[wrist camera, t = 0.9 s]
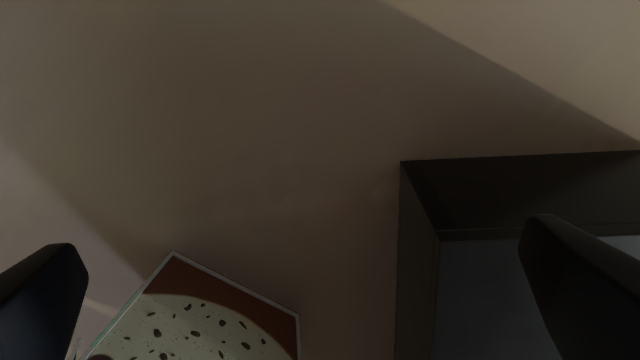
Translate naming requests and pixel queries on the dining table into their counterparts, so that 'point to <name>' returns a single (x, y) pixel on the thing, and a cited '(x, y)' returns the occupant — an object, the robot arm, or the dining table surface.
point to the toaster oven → (496, 246)
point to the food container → (197, 320)
